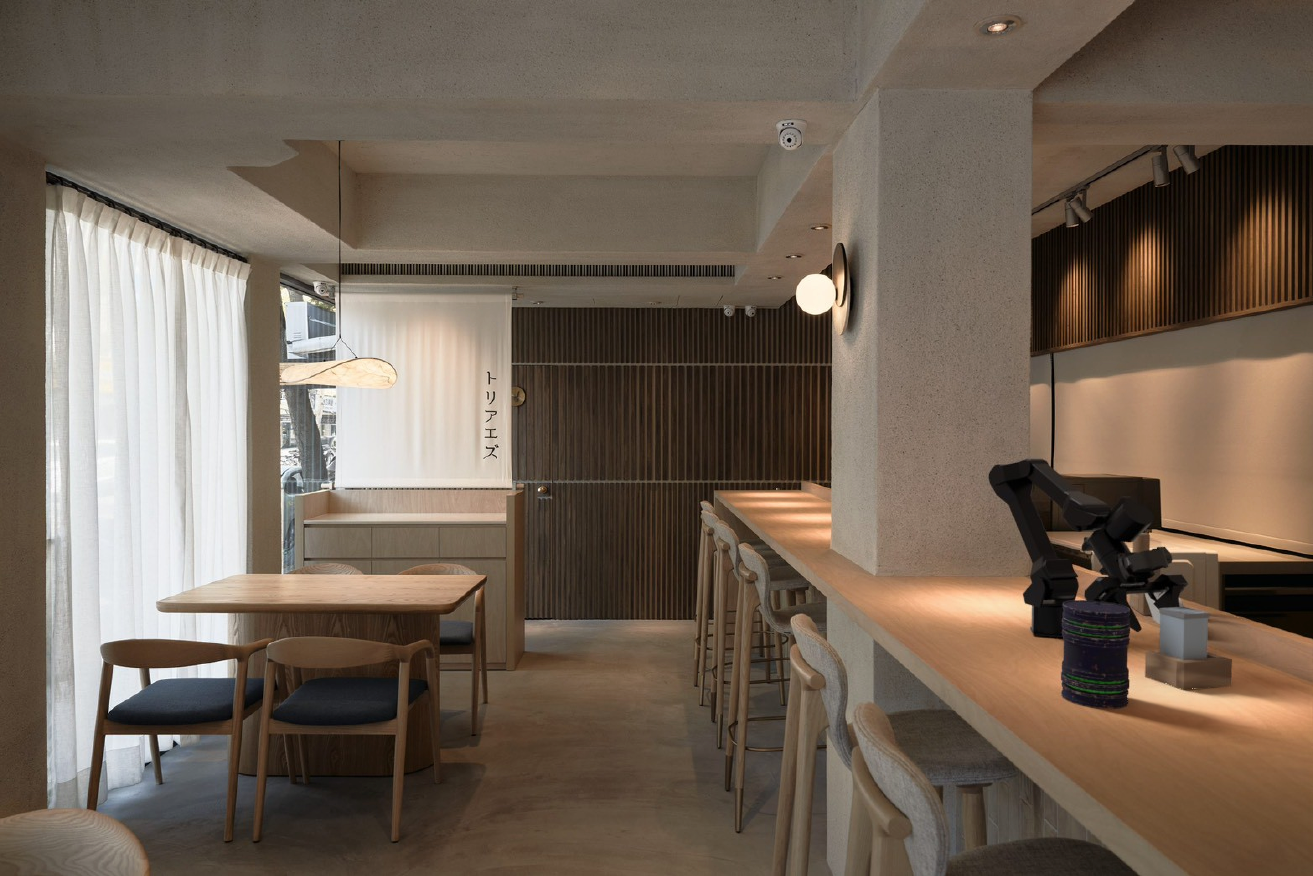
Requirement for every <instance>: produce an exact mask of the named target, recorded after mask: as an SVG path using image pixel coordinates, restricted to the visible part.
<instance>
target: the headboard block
mask: <svg viewBox="0 0 1313 876" xmlns="http://www.w3.org/2000/svg"><path fill="white" fill-rule="evenodd" d="M1232 662H1233V660H1232V658H1229V657H1225V656H1222V655H1218V654H1216V653H1212V652H1208V651H1207V658H1205V659H1193V660H1181V659H1178V658H1175V657H1172V656H1169V655H1165V654H1162V653H1160V651H1155V650H1145V663H1144V665H1145V666H1144V667H1145V668H1144V669H1145V671H1144V677H1146V678H1147V679H1148V678H1149V679H1150V678H1151V680H1153V679H1154V680H1153V681H1157V682H1159V683H1162V684H1165V683H1167V684H1169V685H1168V686H1170V685H1172V686H1171V687H1173V686H1174V687H1173V688H1177V689H1179V688H1181V689H1180V690H1182V689H1183V691H1187V690H1186V689H1191V690H1195V689H1194V688H1202V689H1209V688H1208V687H1213V688H1220V687H1221V688H1222V686H1223V687H1232V674H1233V673H1232V672H1233V671H1232V669H1233V668H1232V667H1233V665H1232V664H1233V663H1232ZM1167 684H1166V685H1167ZM1229 685H1230V686H1229ZM1192 688H1193V689H1192Z"/></svg>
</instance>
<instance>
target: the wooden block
mask: <svg viewBox="0 0 1313 876" xmlns="http://www.w3.org/2000/svg"><path fill="white" fill-rule="evenodd" d="M1150 538H1151V535H1150V534H1149V533H1145V532H1142V533H1141V534H1140V535H1139V536H1138V538H1137V539H1136V540H1134V541H1133V542H1132V551H1131V553H1132V552H1137V553H1138V552H1141V551H1145V550H1151V549H1150V548H1151V547H1150V545H1151V544H1150V543H1151V542H1150V541H1151V539H1150ZM1154 573H1155V575H1154V576H1153V577H1152V578H1149V579H1148V580H1149V582H1154V581H1155V580H1156V579H1157V578H1158V577H1159V576H1160V575H1161V569H1158V570H1155V571H1154ZM1129 605H1130V607H1131V609H1134V610H1135V611H1136V612H1138V613H1139V614H1141V615H1142V616H1145V617H1146V616H1149V617H1152V614H1151V611H1150V608H1149V605H1148V602H1147V599H1146V596H1145V593H1142V594H1129Z"/></svg>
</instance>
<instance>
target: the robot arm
mask: <svg viewBox="0 0 1313 876" xmlns="http://www.w3.org/2000/svg"><path fill="white" fill-rule="evenodd" d="M988 482H989V485H990V487H991V488H992V490H993V491H994V493H995V495H996V496H997V497H998V498H999V499H1001V500H1002V501H1003V502H1004V503H1006V504H1007V506H1008V508H1009V510H1010V513H1011V514H1012V517H1013V519H1014V522H1015V524H1016V527H1017V529H1018V531H1019V533H1020V536H1021V539H1022V542H1023V543H1024V546H1025V548H1026V550H1027V553H1028V555H1029V558H1030V560H1031V569H1030V575H1029V578H1030V581H1031V583H1030V584H1029V586H1027V588H1026V589H1025V590H1024V592H1023V593H1022V597H1023V601H1024V604H1025V605H1028V606H1031V626H1030V627H1029V630H1030V631H1031V633H1032V636H1035V637H1045V636H1049V637H1050V638H1060V637H1062V628H1063V627H1062V619H1063V612H1064V609H1063V603H1064V602H1066V601H1073V600H1076V597H1077V595H1078V592H1079V587H1080V585H1079V580H1078V578H1079V575H1078V574H1077V573H1076V571H1075V569H1074V565H1073V563H1072V561H1071V560H1070V559H1069V558H1065V559H1064V558H1063V559H1061V558H1060V556H1058V555H1057V553H1056V552H1055V548H1054V547H1053V544H1052V542H1051V540H1050V538H1049V535H1048V533H1047V530H1046V529H1045V526H1044V523H1043V522H1042V518H1041V517H1040V515H1039V512H1038V510H1037V508H1036V505H1035V503H1034V501H1033V499H1032V492H1033V488H1034V485H1035V486H1036V487H1037V488H1038V489H1039V490H1041V491H1042V492H1043V493H1044V494H1045V495H1046V496H1047V497H1048V498H1049V499H1051V500H1052V501H1053V502H1054V503H1055V504H1056V505H1057V506H1058V507H1059V508H1060V509H1061V515H1062V518H1063V519H1064V521H1065V522H1066V523H1067V524H1068V525H1069V527H1070V528H1071V529H1072V530H1074V531H1075V532H1079V533H1081V532H1092V533H1091V534H1090V535H1089V536H1084V537H1083V543H1082V544H1081V552H1093V553H1094V555H1095V557H1096V558H1097V561H1098V562H1099V563H1100V565H1101V568H1100V569H1099V573H1100V575H1101V576H1098V577H1096V579H1094V580H1093V582H1092V583H1090V585H1089V586H1088V587H1087V588H1086V589H1085V590H1084V600H1090V601H1101V602H1109V603H1115V604H1119V605H1123V606H1126V607H1128V608H1129V609H1130V615H1129V618H1130V624H1129V625H1130V630H1133V631H1134V632H1136V633H1139V632H1141V631H1142V629H1143V628H1142V626H1141V624H1140V622H1139V619H1138V618H1137V615H1136V614H1135V612H1134V610H1133V608H1132V607H1131V606H1130V602H1128V596H1127V595H1130V594H1142V593H1148V595H1149V597H1150V598H1151V599H1152V600H1154V601H1155V602H1154V603H1153V604H1154V605H1155V606H1156V607H1157V608H1158V609H1159V608H1171V607H1180V605H1179V598H1180V594H1182V592H1183V591H1184V590H1185V588H1186V587H1187V586H1188V585H1189V583H1188V581H1187V580H1186V578H1185V577H1184V575H1183V574H1181V573H1177V572H1176V573H1175V572H1173V573H1171V572H1169V573H1160V576H1159V577H1158V578H1157V579H1156V580H1155V581H1154V582H1149V580H1148V579H1149V578H1152V577H1153V576H1154V575H1155V573H1154V571H1155V570H1158V569H1160V570H1161V569H1167V568H1169V565H1170V564H1172V563H1173V557H1172V554H1171V552H1170V551H1169V550H1168V549H1167V547H1166V546H1158V547H1156V548H1152V549H1150V550H1145V551H1141V552H1138V553H1137V552H1132V551H1131V550H1130V548H1129V547H1128V545H1127V543H1133V541H1134V540H1136V539H1137V538H1138V536H1139V535H1140V534H1141V533H1144V531H1146V530H1147V528H1148V527H1150V525H1151V524H1152V523H1153V522H1154V513H1152V510H1150V509H1149V508H1147V507H1146V506H1144V504H1141V503H1140V502H1138V501H1135V500H1134V499H1133V498H1132V496H1121V498H1120V499H1118V501H1117V503H1116V504H1115V506H1114V507H1112V508H1111V507H1110V506H1109V504H1108V503H1106V502H1105V501H1102V500H1101V499H1099V498H1098V497H1095V496H1092V495H1089V494H1086V493H1083V492H1081V491H1080V490H1079V489H1078V488H1077V487H1075V486H1074V485H1073V484H1072V483H1070V482H1069V481H1068V480H1067V479H1066V478H1064V477H1063V476H1062V475H1061V474H1060V473H1059V472H1057V470H1055V469H1054V468H1053V467H1052V466H1051V465H1050V463H1049V462H1048V461H1047V460H1046V459H1043V458H1025V459H1022V460H1019V461H1017V462H1012V463H1009V464H1008V463H1007V464H1006V463H1004V464H1002V463H1001V464H995V465H993V467H991V470H990V471H989V472H988Z"/></svg>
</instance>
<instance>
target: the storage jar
mask: <svg viewBox="0 0 1313 876" xmlns="http://www.w3.org/2000/svg"><path fill="white" fill-rule="evenodd" d="M1063 609H1064V612H1063V619H1062V627H1063V628H1062V637H1063V638H1062V639H1063V660H1062V661H1061V672H1060V680H1061V687H1062V690H1061V697H1062V698H1063V699H1064V700H1066V701H1068V702H1070V703H1072V704H1075V705H1079V706H1083V707H1087V708H1093V709H1103V710H1115V709H1116V710H1117V709H1123V708H1126V707H1128V705H1129V698H1128V696H1129V689H1130V679H1129V678H1130V677H1129V674H1130V673H1129V671H1130V670H1129V668H1128V652H1129V651H1128V647H1129V645H1130V641H1131V639H1130V634H1131V628H1130V625H1129V624H1130V618H1129V615H1130V609H1129V608H1128V607H1126V606H1123V605H1119V604H1115V603H1109V602H1101V601H1090V600H1086V599H1083V600H1081V599H1078V600H1077V599H1075V600H1073V601H1066V602H1064V603H1063Z"/></svg>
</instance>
